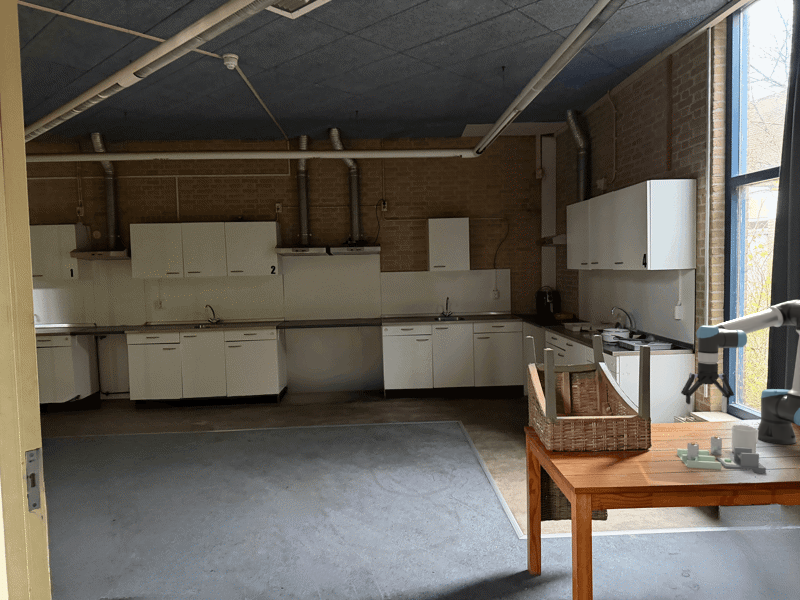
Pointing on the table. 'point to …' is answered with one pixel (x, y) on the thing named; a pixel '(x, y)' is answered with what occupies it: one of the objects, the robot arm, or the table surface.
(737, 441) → the mug
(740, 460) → the grey mounting bracket
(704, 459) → the tray
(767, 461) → the table surface
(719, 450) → the cell
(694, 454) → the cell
